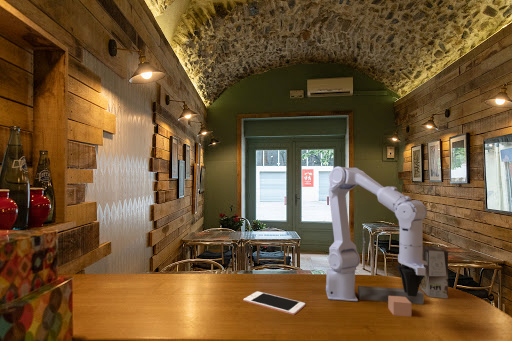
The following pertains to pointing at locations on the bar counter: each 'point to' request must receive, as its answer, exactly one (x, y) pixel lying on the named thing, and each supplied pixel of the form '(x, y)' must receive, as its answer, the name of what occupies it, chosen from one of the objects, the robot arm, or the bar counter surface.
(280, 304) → the cell phone
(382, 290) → the gray rectangular bar
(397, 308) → the block
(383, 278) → the bar counter surface
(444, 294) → the coffee box
